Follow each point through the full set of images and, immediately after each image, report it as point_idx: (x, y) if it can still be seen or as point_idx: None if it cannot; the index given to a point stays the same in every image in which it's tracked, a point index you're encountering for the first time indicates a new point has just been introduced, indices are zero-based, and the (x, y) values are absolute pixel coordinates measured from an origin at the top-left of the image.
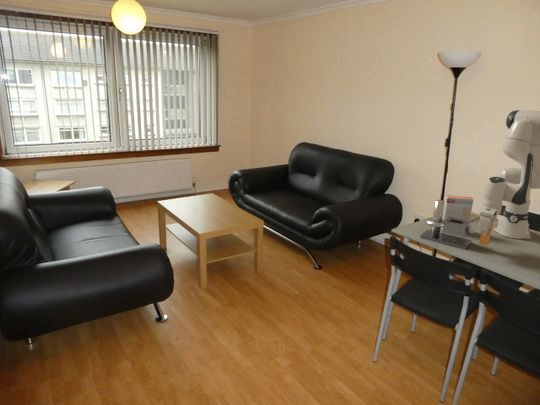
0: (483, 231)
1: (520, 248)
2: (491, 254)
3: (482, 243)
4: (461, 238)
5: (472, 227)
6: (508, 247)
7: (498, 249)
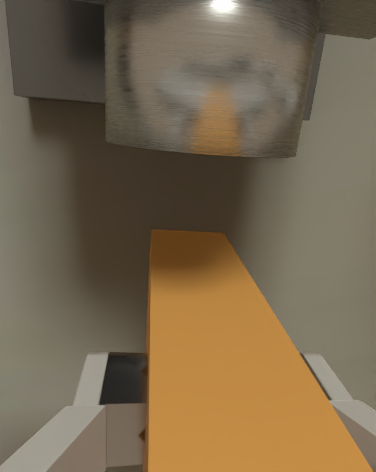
0: (48, 428)
1: None
2: (94, 330)
3: (149, 270)
4: None
5: (212, 92)
6: (345, 385)
7: None
